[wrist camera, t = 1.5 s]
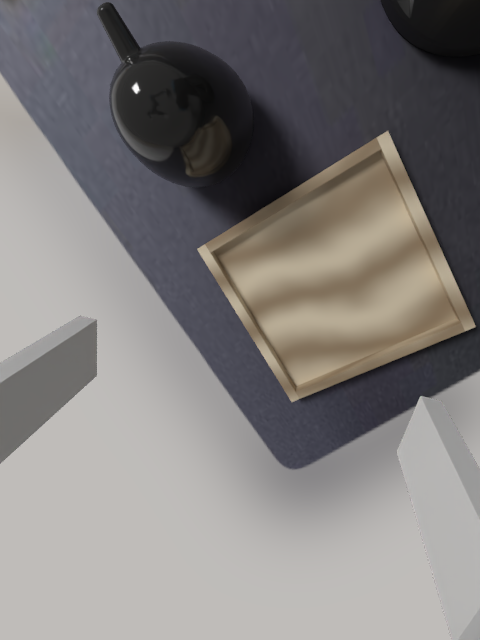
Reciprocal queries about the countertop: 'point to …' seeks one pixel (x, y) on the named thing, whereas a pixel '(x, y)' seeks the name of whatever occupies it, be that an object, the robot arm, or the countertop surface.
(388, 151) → the birch tray
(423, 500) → the robot arm
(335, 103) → the countertop surface
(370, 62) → the countertop surface
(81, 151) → the countertop surface
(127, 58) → the pump dispenser
